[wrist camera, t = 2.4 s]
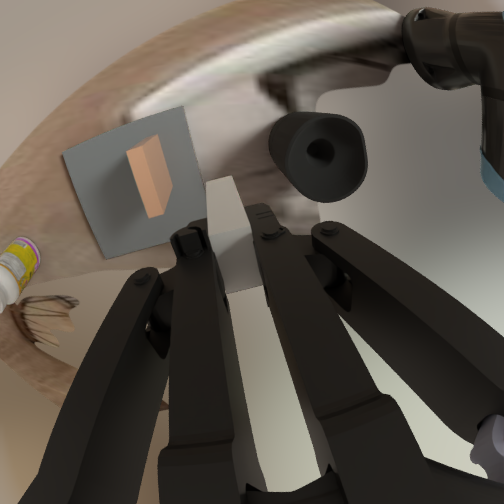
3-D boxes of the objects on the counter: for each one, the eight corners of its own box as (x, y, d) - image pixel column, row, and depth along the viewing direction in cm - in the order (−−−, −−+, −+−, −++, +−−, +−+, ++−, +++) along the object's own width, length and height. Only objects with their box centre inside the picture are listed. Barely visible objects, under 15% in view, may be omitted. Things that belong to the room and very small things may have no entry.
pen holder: (253, 160, 34) (270, 183, 26) (283, 96, 31) (312, 97, 22) (313, 186, 38) (345, 214, 29) (342, 128, 34) (383, 141, 25)
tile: (157, 133, 29) (141, 145, 22) (172, 185, 33) (163, 213, 26) (144, 138, 29) (124, 151, 22) (159, 189, 33) (147, 218, 26)
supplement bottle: (28, 274, 36) (-3, 323, 26) (7, 245, 33) (-30, 290, 22) (48, 260, 36) (14, 312, 25) (26, 228, 32) (-15, 274, 22)
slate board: (183, 105, 29) (182, 105, 28) (214, 225, 38) (215, 229, 37) (65, 150, 29) (62, 152, 28) (108, 255, 38) (106, 259, 37)
